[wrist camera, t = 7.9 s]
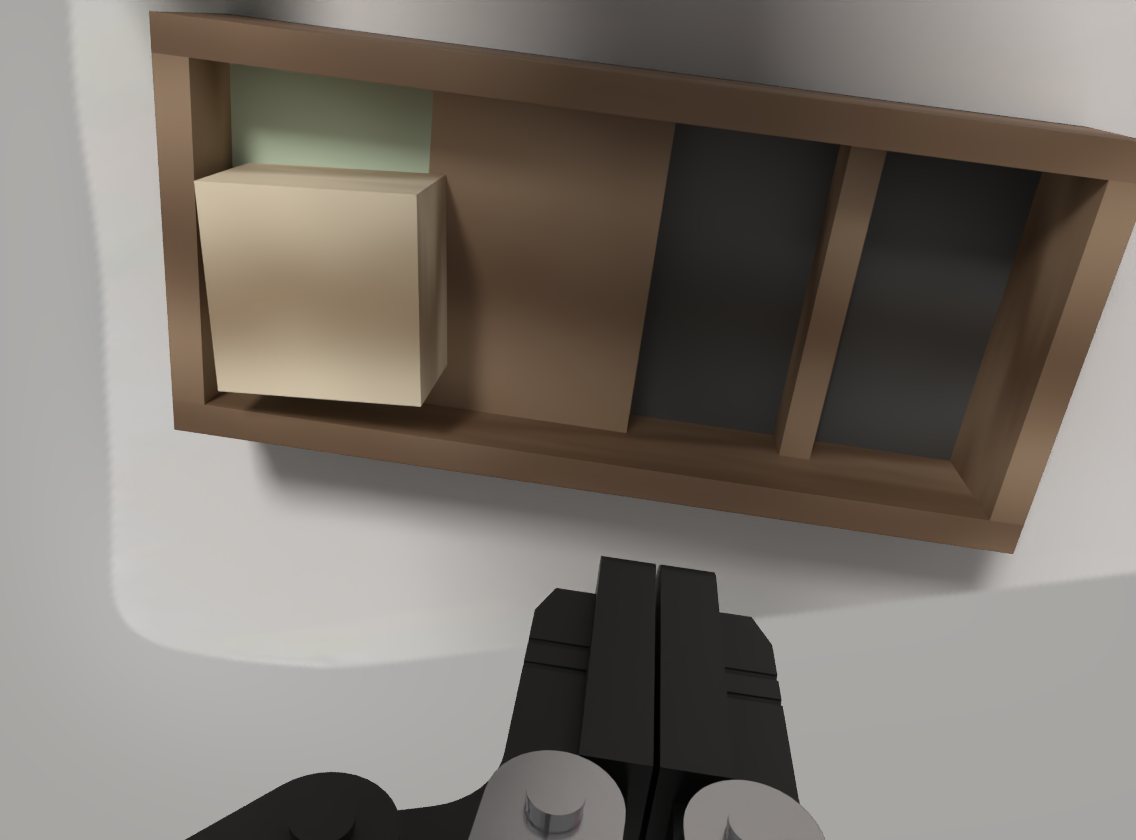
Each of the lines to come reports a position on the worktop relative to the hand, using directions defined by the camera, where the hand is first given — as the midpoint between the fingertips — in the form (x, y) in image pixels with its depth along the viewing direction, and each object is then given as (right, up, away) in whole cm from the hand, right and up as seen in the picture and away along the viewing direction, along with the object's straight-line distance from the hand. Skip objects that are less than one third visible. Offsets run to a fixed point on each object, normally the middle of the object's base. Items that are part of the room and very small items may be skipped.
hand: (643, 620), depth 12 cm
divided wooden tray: (+1, +8, +18) cm, 19 cm away
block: (-8, +7, +16) cm, 20 cm away
